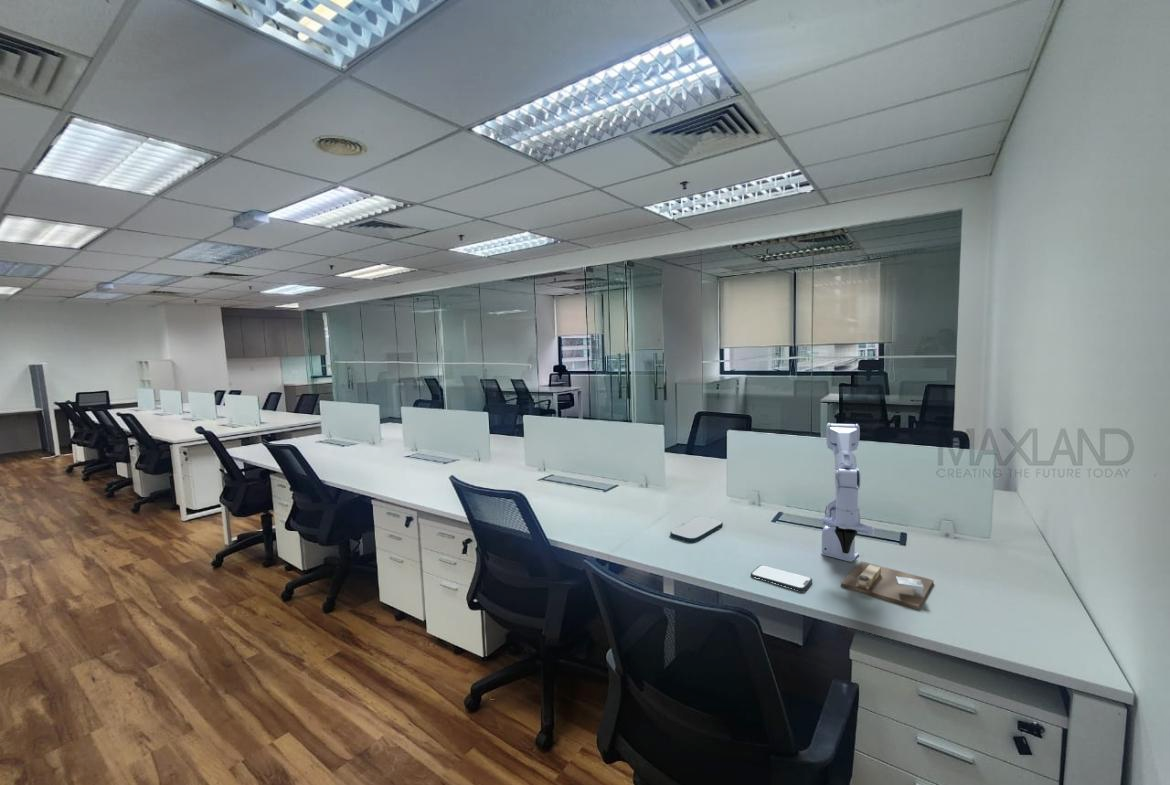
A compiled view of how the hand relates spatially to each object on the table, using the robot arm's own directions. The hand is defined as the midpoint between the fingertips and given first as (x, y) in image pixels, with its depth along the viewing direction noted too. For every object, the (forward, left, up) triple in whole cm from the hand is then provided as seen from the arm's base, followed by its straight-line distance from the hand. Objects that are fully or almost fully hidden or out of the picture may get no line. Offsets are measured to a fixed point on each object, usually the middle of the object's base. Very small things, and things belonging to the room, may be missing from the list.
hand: (846, 552), depth 147 cm
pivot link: (+6, -1, -6) cm, 9 cm away
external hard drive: (-54, +3, -8) cm, 54 cm away
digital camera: (-17, +45, -8) cm, 48 cm away
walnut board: (+10, +2, -8) cm, 13 cm away
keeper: (+17, -2, -6) cm, 18 cm away
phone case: (-14, -14, -8) cm, 21 cm away
